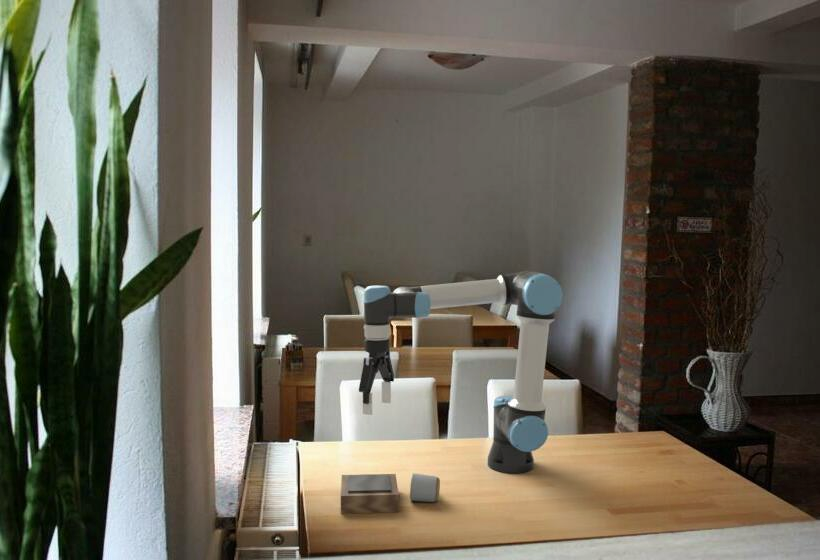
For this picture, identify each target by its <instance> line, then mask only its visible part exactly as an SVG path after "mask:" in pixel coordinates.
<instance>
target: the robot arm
mask: <svg viewBox="0 0 820 560" xmlns="http://www.w3.org/2000/svg"><path fill="white" fill-rule="evenodd" d="M562 301H563V290H562V287H561V286H560V283H559V282H558V280H556V279H555V278H553V277H552V276H550V275H549V274H546V273H541V272H537V271H534V270H533V271H532V270H527V271H526V270H525V271H519V272H514V273H508V274H499V275H498V276H497V277H496V278H494V279H492V278H491V279H490V278H489V279H483V280H481V279H479V280H471V281H462V282H453V283H452V282H451V283H441V284H431V285H430V284H429V285H420V286H409V287H408V286H400V287H397V288H395V289H394V290H393V291H392V292H391V289H390V287H389V286H387V285H369V286H366V287H365V289H364V299H363V310H364V311H363V312H364V313H363V316H364V317H363V318H364V319H363V322H364V325H363V330H364V337H365V339H364V340H363V343H364V345H363V346H364V347H363V349H364V352H365V353H368V357H364V358H363V365H362V370H361V375H360V382H359V387H358V392H359V393H362V415H369V416H372V415H373V392H372V388H373V385H374V382H375V377H376V375H377V373H380V374H379V375H380V376H381V378H382V381H381V403H384V404H391V402H392V400H391V399H392V391H391V390H392V386H391V385H392V384H391V382H395V378H394V377H395V374H394V370H393V369H394V368H393V364H392V360H391V352H390V349H391V347H390V345H391V342H390V341H391V340H390V339H389V337H391V327H390V326H391V325H390V322H391V321H390V320H391V319H396V318H397V319H398V318H400V319H401V318H403V319H404V318H405V319H407V318H409V319H412V318H415V319H420V318H427V317H429V316H430V313H431V310H434V309H444V308H453V307H455V308H457V307H464V306H465V307H466V306H475V305H477V306H478V305H485V304H495V303H499V304H500V305H501V306H508V305H514V306H516V308H517V309H516V317H517V319H519V321H520V326H519V337H518V338H519V339H518V346H517V348H518V349H517V355H516V357H517V359H516V365H515V367H516V368H515V375H514V376H515V378H514V387H513V395H501V396H496V397H495V399H494V401H493V402H494V403H493V407H492V408H493V436H492V437H493V442H492V445H491V447H490V449H489V453H488V455H487V467H489V468H490V469H492V470H494V471H496V472H500V473H506V474H507V473H508V474H521V473H526V472H529V471H532V470H533V469H534V467H535V459H534V455H533V452H535V451H537V450H539V449H540V448H541V447H543V446H544V444H546V442H547V440H548V436H549V428H548V425H547V423H546V421H545V419H546V405H545V404H544V403H543V402H542V398H543V387H544V379H545V378H544V377H545V368H546V359H547V348H548V340H549V332H550V324H551V323H553V322H554V321H555V319H556V312H557V310H558V309H559V307H560V306H561V304H562Z"/></svg>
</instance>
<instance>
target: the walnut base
mask: <svg viewBox="0 0 820 560" xmlns="http://www.w3.org/2000/svg"><path fill="white" fill-rule="evenodd" d="M340 480H341V483H340V484H341V485H340V514H368V513H369V514H375V513H376V514H377V513H378V512H380V513H399V512H400V511H399V510H400V509H399V508H400V507H399V506H400V503H399V502H400V501H399V500H400V498H399V497H400V494H399V488H398V481H397V475H396V473H375V474H374V473H372V474H369V473H366V474H364V473H363V474H341V479H340Z"/></svg>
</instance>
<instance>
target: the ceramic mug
mask: <svg viewBox="0 0 820 560" xmlns="http://www.w3.org/2000/svg"><path fill="white" fill-rule="evenodd" d="M409 488H410V490H409V500H410V502H427V503H436V502H438V501H439V497H440V490H441V489H440V488H441V479H440V477H438V476H435V475H428V474H422V473H421V474H420V473H415V472H414V473H412V475H411V479H410V487H409Z"/></svg>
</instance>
